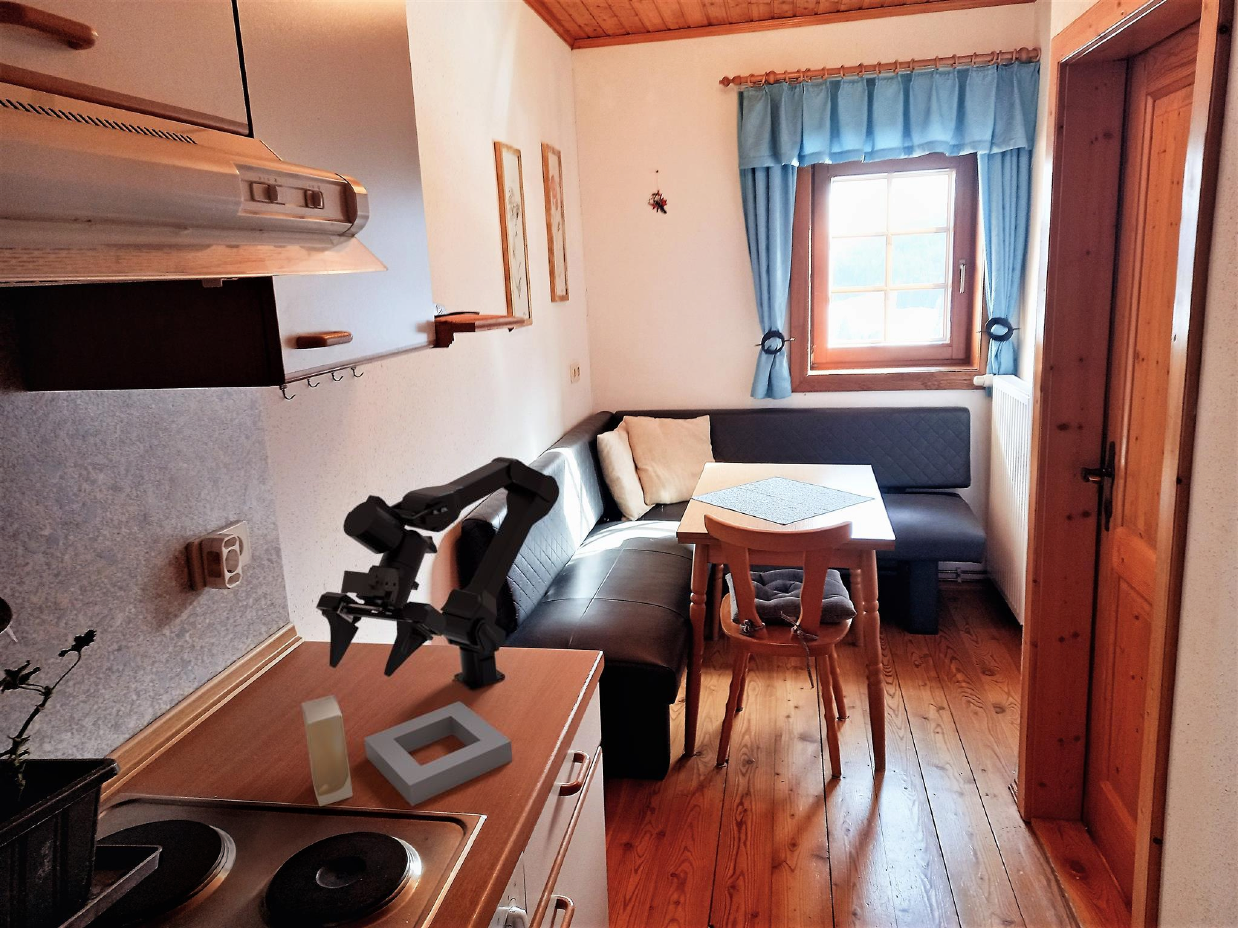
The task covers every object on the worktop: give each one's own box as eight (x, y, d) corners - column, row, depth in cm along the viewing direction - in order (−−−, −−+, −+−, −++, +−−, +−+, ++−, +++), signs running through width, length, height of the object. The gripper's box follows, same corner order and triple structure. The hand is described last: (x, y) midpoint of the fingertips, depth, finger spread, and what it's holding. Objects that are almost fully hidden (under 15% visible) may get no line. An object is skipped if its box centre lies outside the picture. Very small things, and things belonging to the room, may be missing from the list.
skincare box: (312, 783, 113) (299, 701, 110) (345, 773, 115) (334, 692, 112) (319, 808, 107) (306, 723, 105) (354, 797, 109) (342, 713, 106)
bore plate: (366, 756, 118) (364, 737, 118) (461, 718, 127) (459, 700, 127) (412, 806, 107) (409, 785, 106) (512, 760, 116) (510, 740, 115)
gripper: (315, 539, 119) (269, 642, 112) (425, 549, 113) (384, 660, 105) (358, 571, 128) (318, 669, 121) (462, 582, 122) (426, 687, 114)
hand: (359, 671), depth 115 cm, fingers open, 9 cm apart
